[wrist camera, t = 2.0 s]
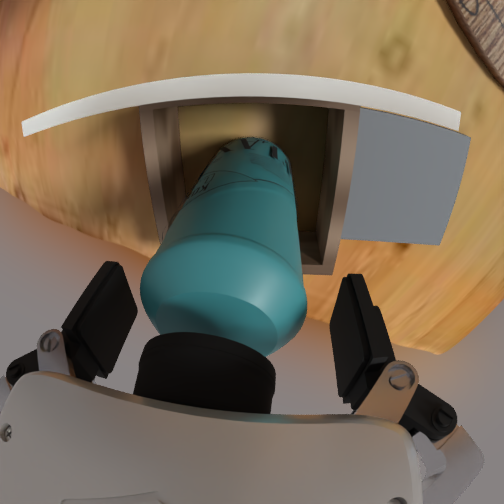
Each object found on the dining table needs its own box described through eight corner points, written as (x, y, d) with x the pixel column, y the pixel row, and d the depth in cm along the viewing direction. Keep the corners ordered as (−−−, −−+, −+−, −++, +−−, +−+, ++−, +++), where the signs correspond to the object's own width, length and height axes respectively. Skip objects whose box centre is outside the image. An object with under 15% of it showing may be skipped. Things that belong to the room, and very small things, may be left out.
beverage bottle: (304, 150, 21) (381, 414, 5) (270, 213, 24) (258, 461, 8) (230, 118, 20) (60, 329, 3) (202, 186, 23) (95, 417, 7)
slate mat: (353, 106, 18) (356, 107, 17) (465, 134, 17) (470, 137, 16) (335, 232, 25) (337, 238, 24) (435, 240, 24) (439, 245, 24)
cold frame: (164, 85, 18) (21, 121, 6) (342, 85, 17) (460, 112, 5) (181, 235, 27) (123, 367, 14) (323, 241, 26) (352, 385, 14)
